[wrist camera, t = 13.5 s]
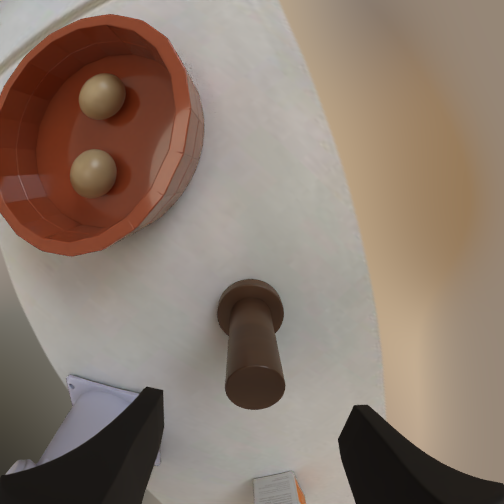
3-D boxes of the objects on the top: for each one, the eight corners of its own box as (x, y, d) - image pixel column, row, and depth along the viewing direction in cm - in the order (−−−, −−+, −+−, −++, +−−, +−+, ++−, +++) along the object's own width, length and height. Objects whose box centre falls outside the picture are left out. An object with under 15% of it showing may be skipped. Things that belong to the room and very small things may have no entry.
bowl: (189, 248, 18) (170, 274, 13) (28, 225, 17) (-18, 239, 12) (220, 50, 15) (213, 9, 10) (53, 57, 14) (14, 36, 9)
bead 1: (119, 124, 14) (117, 121, 16) (133, 74, 13) (129, 79, 15) (71, 118, 12) (76, 116, 15) (84, 67, 11) (87, 72, 14)
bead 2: (96, 181, 13) (82, 215, 15) (133, 165, 15) (115, 197, 17) (67, 146, 13) (56, 182, 14) (105, 134, 15) (90, 167, 17)
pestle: (282, 334, 19) (303, 418, 12) (221, 338, 19) (211, 423, 12) (281, 276, 18) (306, 343, 11) (215, 280, 18) (198, 350, 11)
